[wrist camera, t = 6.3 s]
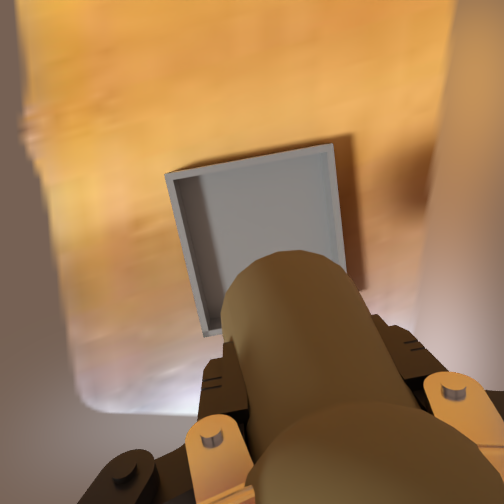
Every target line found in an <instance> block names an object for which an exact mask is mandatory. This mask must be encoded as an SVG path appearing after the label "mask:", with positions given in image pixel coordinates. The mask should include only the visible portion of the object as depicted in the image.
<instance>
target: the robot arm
mask: <svg viewBox="0 0 504 504" xmlns="http://www.w3.org/2000/svg"><path fill="white" fill-rule="evenodd" d="M370 316H371V318H372V320H373V322H374V324H375V326H376V328H377V330H378V332H379V334H380V336H381V338H382V340H383V342H384V344H385V346H386V348H387V350H388V352H389V354H390V356H391V358H392V360H393V362H394V364H395V366H396V368H397V370H398V372H399V373H400V375H401V377H402V379H403V380H404V382H405V383H406V385H407V386H408V387H409V388H410V389H411V391H412V393H413V395H414V396H415V398H416V400H417V402H418V404H419V406H420V408H421V410H424V411H426V412H427V413H429V414H431V415H433V416H435V417H436V418H438V419H440V420H442V421H444V422H445V423H447V424H449V425H451V426H453V427H454V428H455V429H457V430H458V431H459V432H461V433H462V434H464V435H465V436H466V437H468V438H469V439H470V440H472V441H473V442H474V443H476V444H477V445H478V448H479V450H480V451H481V452H482V453H483V455H484V456H485V457H486V458H487V459H488V460H489V462H490V463H491V464H492V465H493V466H494V467H495V469H496V470H497V471H498V472H499V473H500V475H501V477H502V480H503V482H504V391H489V390H484V388H483V387H482V386H481V385H480V384H479V383H478V382H477V381H476V380H474V379H472V378H471V377H469V376H466V375H463V374H460V373H456V372H449V371H448V370H447V369H446V368H445V367H444V366H443V365H442V364H441V363H440V362H439V361H438V360H437V359H436V358H435V357H434V356H433V355H432V354H431V353H430V352H429V351H428V350H427V349H425V347H424V346H423V345H422V344H421V343H420V342H418V340H417V339H416V338H415V337H414V336H413V335H412V334H411V333H410V332H409V331H407V330H405V329H403V328H401V327H399V326H397V325H393V326H388V325H387V324H386V323H385V322H384V321H383V320H382V318H381V317H380V316H379V315H377V314H375V315H370ZM202 381H203V382H202V387H201V395H200V403H199V411H198V419H197V422H196V423H195V424H194V425H193V426H192V427H191V428H190V430H189V431H188V433H187V435H186V439H185V444H183V445H182V446H181V447H179V448H178V449H176V450H174V451H173V452H170V453H168V454H166V455H164V456H162V457H160V458H158V459H155V460H154V457H153V455H152V454H151V453H150V452H148V451H146V450H142V449H135V450H130V451H127V452H125V453H122V454H120V455H119V456H117V457H115V458H114V459H113V460H111V461H110V462H109V463H108V464H107V465H106V466H105V467H104V468H103V469H102V470H101V472H100V473H99V475H98V476H97V477H96V479H95V480H94V481H93V483H92V484H91V485H90V487H89V488H88V489H87V491H86V492H85V494H84V495H83V496H82V498H81V499H80V500H79V502H78V503H77V504H255V492H254V489H253V486H252V485H249V486H246V487H244V486H245V482H246V478H247V475H248V473H249V471H250V470H251V469H252V467H253V466H254V464H253V462H252V459H251V457H250V455H249V449H248V442H247V433H246V426H247V423H248V420H249V417H250V416H249V406H248V397H247V388H246V385H245V381H244V378H243V375H242V371H241V368H240V364H239V361H238V357H237V354H236V351H235V347H234V344H233V341H230V342H225V343H223V357H222V358H217V359H212V360H210V361H209V363H208V364H207V366H206V367H205V369H204V371H203V379H202Z"/></svg>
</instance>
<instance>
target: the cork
mask: <svg viewBox="0 0 504 504" xmlns="http://www.w3.org/2000/svg"><path fill="white" fill-rule="evenodd" d="M220 314H221V324H222V334H223V339H224V343H225V342H230V341H233V344H234V347H235V351H236V354H237V357H238V361H239V364H240V368H241V371H242V375H243V378H244V381H245V385H246V388H247V397H248V406H249V416H250V417H249V420H248V423H247V426H246V433H247V442H248V449H249V455H250V457H251V459H252V462H253V464H254V466H253V467H252V469H251V470H250V471H249V473H248V475H247V478H246V482H245V486H244V487H246V486H249V485H252V486H253V489H254V492H255V504H504V482H503V480H502V477H501V475H500V473H499V472H498V471H497V470H496V469H495V467H494V466H493V465H492V464H491V463H490V462H489V460H488V459H487V458H486V457H485V456H484V455H483V453H482V452H481V451H480V450H479V448H478V445H477V444H476V443H474V442H473V441H472V440H470V439H469V438H468V437H466V436H465V435H464V434H462V433H461V432H459V431H458V430H457V429H455V428H454V427H453V426H451V425H449V424H447V423H445V422H444V421H442V420H440V419H438V418H436V417H435V416H433V415H431V414H429V413H427V412H426V411H424V410H421V408H420V406H419V404H418V402H417V400H416V398H415V396H414V395H413V393H412V391H411V389H410V388H409V387H408V386H407V385H406V383H405V382H404V380H403V379H402V377H401V375H400V373H399V372H398V370H397V368H396V366H395V364H394V362H393V360H392V358H391V356H390V354H389V352H388V350H387V348H386V346H385V344H384V342H383V340H382V338H381V336H380V334H379V332H378V330H377V328H376V326H375V324H374V322H373V320H372V318H371V316H370V315H371V313H370V312H369V310H368V308H367V306H366V304H365V302H364V300H363V298H362V297H361V295H360V293H359V291H358V289H357V287H356V285H355V283H354V282H353V281H352V279H351V278H350V277H349V276H348V274H347V273H346V272H345V271H344V269H343V268H342V267H341V266H340V265H338V264H336V263H335V262H333V261H332V260H330V259H328V258H327V257H325V256H324V255H321V254H317V253H312V252H308V251H304V250H291V251H278V252H275V253H272V254H270V255H267V256H265V257H262V258H260V259H257V260H255V261H254V262H253V263H251V264H250V265H249V266H248V267H247V268H245V269H244V270H243V271H242V272H240V273H239V274H238V275H237V276H236V278H235V280H234V281H233V283H232V284H231V286H230V287H229V289H228V290H227V292H226V294H225V298H224V302H223V306H222V309H221V313H220Z"/></svg>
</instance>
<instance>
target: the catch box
mask: <svg viewBox="0 0 504 504" xmlns="http://www.w3.org/2000/svg"><path fill="white" fill-rule="evenodd" d="M164 175H165V180H166V184H167V188H168V192H169V196H170V200H171V204H172V209H173V213H174V217H175V221H176V225H177V229H178V233H179V237H180V242H181V246H182V250H183V254H184V258H185V262H186V266H187V271H188V275H189V279H190V283H191V287H192V291H193V295H194V299H195V304H196V308H197V312H198V316H199V320H200V324H201V328H202V333H203V337H209V336H215V335H220V334H222V324H221V314H220V313H221V309H222V306H223V302H224V298H225V294H226V292H227V290H228V289H229V287H230V286H231V284H232V283H233V281H234V280H235V278H236V276H237V275H238V274H239V273H240V272H242V271H243V270H244V269H245V268H247V267H248V266H249V265H250V264H251V263H253V262H254V261H255V260H257V259H260V258H262V257H265V256H267V255H270V254H272V253H275V252H278V251H291V250H304V251H308V252H312V253H317V254H321V255H324V256H325V257H327V258H328V259H330V260H332V261H333V262H335V263H336V264H338V265H340V266H341V267H342V268H343V269H344V271H345V272H346V273H347V270H346V260H345V251H344V242H343V232H342V223H341V213H340V204H339V194H338V185H337V175H336V166H335V157H334V147H333V143H328V144H321V145H315V146H310V147H304V148H299V149H293V150H288V151H283V152H277V153H272V154H266V155H261V156H255V157H250V158H244V159H239V160H234V161H228V162H223V163H217V164H212V165H206V166H201V167H196V168H190V169H185V170H179V171H174V172H169V173H166V174H164Z"/></svg>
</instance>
